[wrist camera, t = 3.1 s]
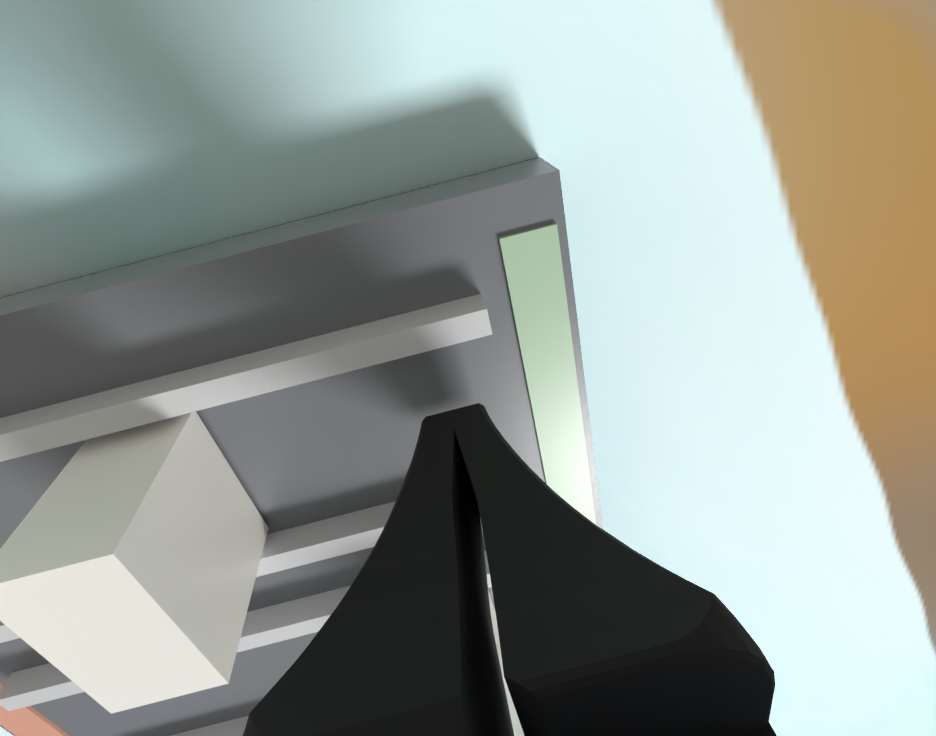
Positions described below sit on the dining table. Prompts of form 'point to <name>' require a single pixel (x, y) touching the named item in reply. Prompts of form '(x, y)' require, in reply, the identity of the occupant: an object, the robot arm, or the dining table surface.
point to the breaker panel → (299, 397)
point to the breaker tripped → (137, 565)
